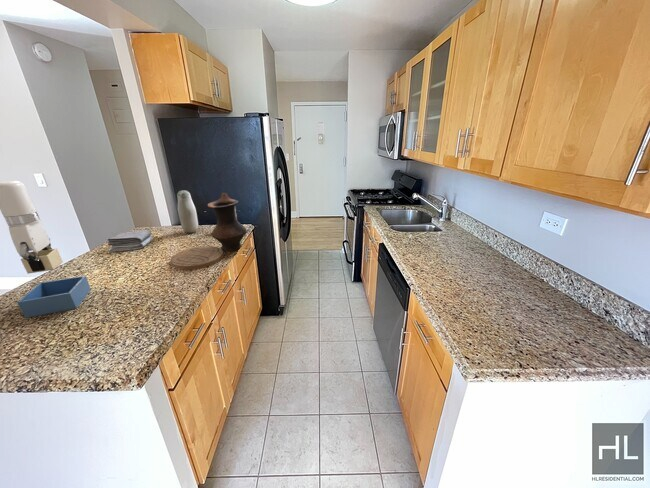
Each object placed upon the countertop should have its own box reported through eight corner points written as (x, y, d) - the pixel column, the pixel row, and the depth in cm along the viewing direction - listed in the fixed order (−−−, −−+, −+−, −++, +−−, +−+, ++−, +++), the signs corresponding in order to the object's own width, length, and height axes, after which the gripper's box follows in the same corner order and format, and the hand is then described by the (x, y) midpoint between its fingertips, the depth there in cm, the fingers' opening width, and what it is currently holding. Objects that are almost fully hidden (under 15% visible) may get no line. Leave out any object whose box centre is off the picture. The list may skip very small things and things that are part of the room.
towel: (144, 249, 147) (141, 236, 144) (107, 252, 143) (102, 239, 140) (154, 239, 161) (150, 228, 158) (120, 242, 157) (116, 230, 154)
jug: (249, 252, 142) (242, 198, 131) (213, 256, 137) (202, 201, 126) (248, 239, 161) (242, 191, 150) (216, 242, 156) (207, 193, 145)
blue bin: (25, 318, 91) (16, 302, 88) (46, 297, 103) (39, 282, 101) (76, 308, 96) (69, 293, 94) (91, 289, 108) (85, 275, 106)
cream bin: (27, 273, 90) (20, 259, 88) (38, 265, 96) (32, 251, 94) (53, 269, 93) (47, 255, 90) (62, 262, 99) (57, 248, 96)
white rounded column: (180, 232, 173) (170, 190, 163) (194, 228, 181) (186, 188, 170) (188, 235, 168) (178, 192, 157) (202, 231, 176) (194, 189, 165)
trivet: (193, 247, 149) (192, 244, 149) (232, 250, 145) (232, 247, 144) (159, 267, 127) (158, 263, 126) (204, 271, 122) (203, 268, 121)
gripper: (23, 213, 93) (44, 258, 100) (-11, 228, 79) (16, 279, 85) (50, 211, 96) (69, 255, 103) (22, 224, 81) (45, 274, 88)
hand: (44, 265), depth 94 cm, fingers closed on cream bin, 7 cm apart
